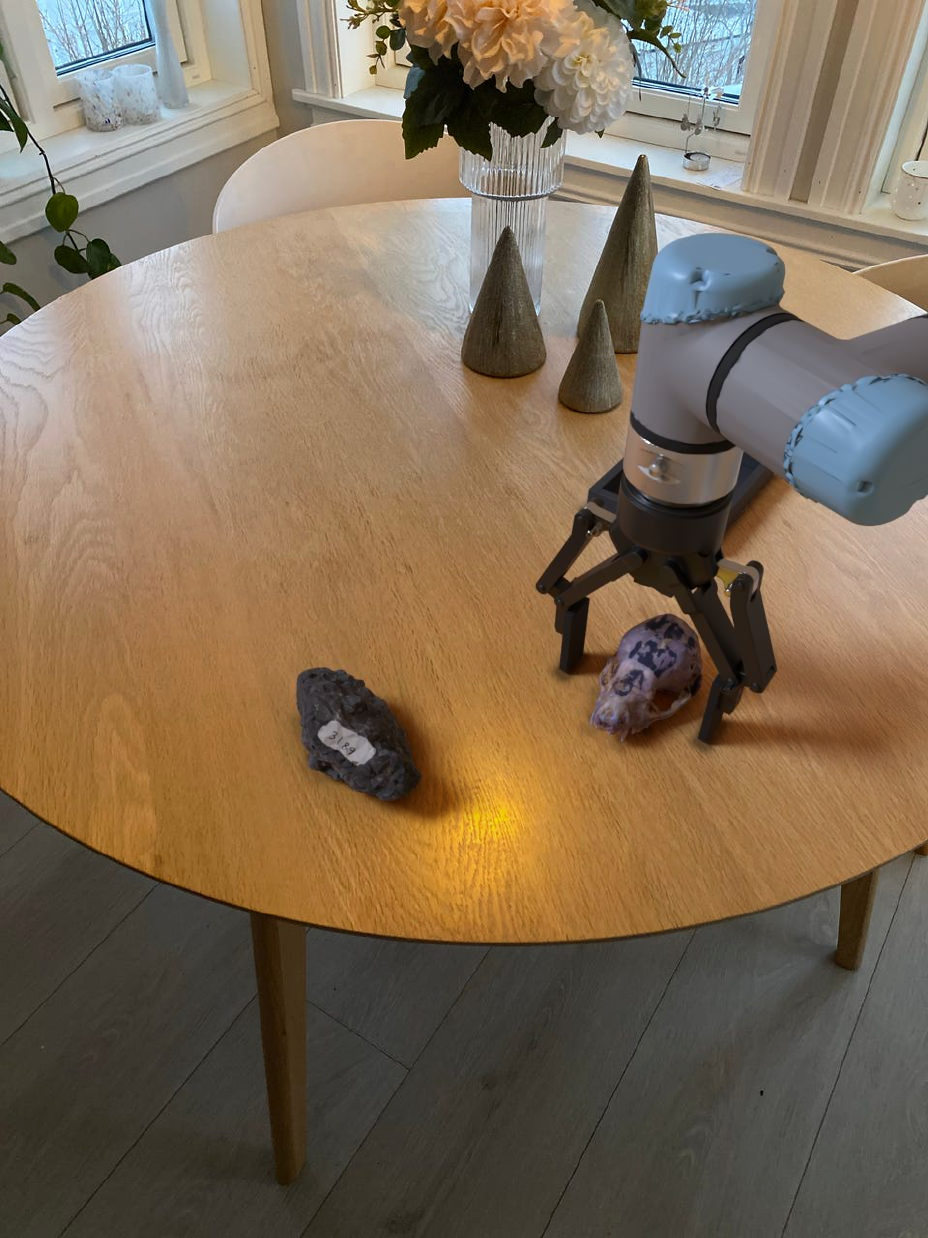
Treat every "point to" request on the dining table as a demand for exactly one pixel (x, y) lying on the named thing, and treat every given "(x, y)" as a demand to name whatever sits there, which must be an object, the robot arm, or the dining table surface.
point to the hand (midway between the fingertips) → (637, 695)
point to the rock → (354, 735)
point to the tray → (744, 491)
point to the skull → (648, 674)
